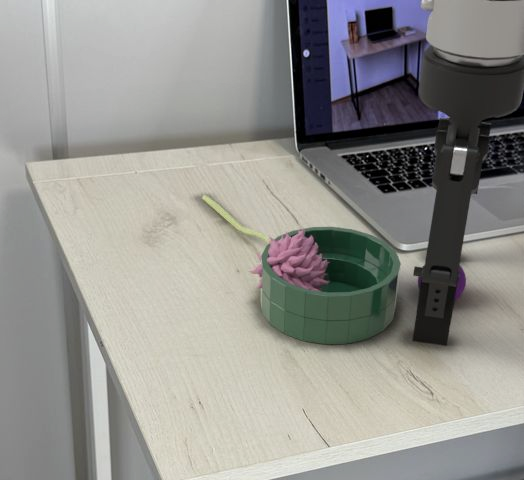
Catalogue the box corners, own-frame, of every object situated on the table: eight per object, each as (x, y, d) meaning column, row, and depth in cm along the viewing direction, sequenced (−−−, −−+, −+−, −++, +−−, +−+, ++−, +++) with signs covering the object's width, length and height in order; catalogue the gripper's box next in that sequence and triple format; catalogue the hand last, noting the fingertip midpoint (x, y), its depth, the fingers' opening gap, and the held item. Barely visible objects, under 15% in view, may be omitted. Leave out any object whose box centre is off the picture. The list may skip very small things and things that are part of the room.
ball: (463, 292, 77) (470, 252, 75) (460, 316, 74) (467, 276, 72) (417, 286, 78) (423, 246, 75) (412, 310, 75) (418, 269, 72)
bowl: (401, 286, 78) (407, 235, 75) (384, 358, 69) (390, 305, 66) (278, 269, 80) (279, 219, 77) (246, 337, 71) (246, 284, 68)
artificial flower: (166, 235, 90) (272, 329, 70) (170, 167, 87) (282, 245, 67) (226, 233, 93) (344, 323, 73) (232, 167, 90) (357, 242, 70)
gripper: (439, 1, 74) (409, 227, 86) (404, 104, 54) (372, 377, 67) (531, 8, 72) (487, 237, 85) (529, 117, 53) (473, 394, 65)
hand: (436, 299), depth 76 cm, fingers open, 13 cm apart
